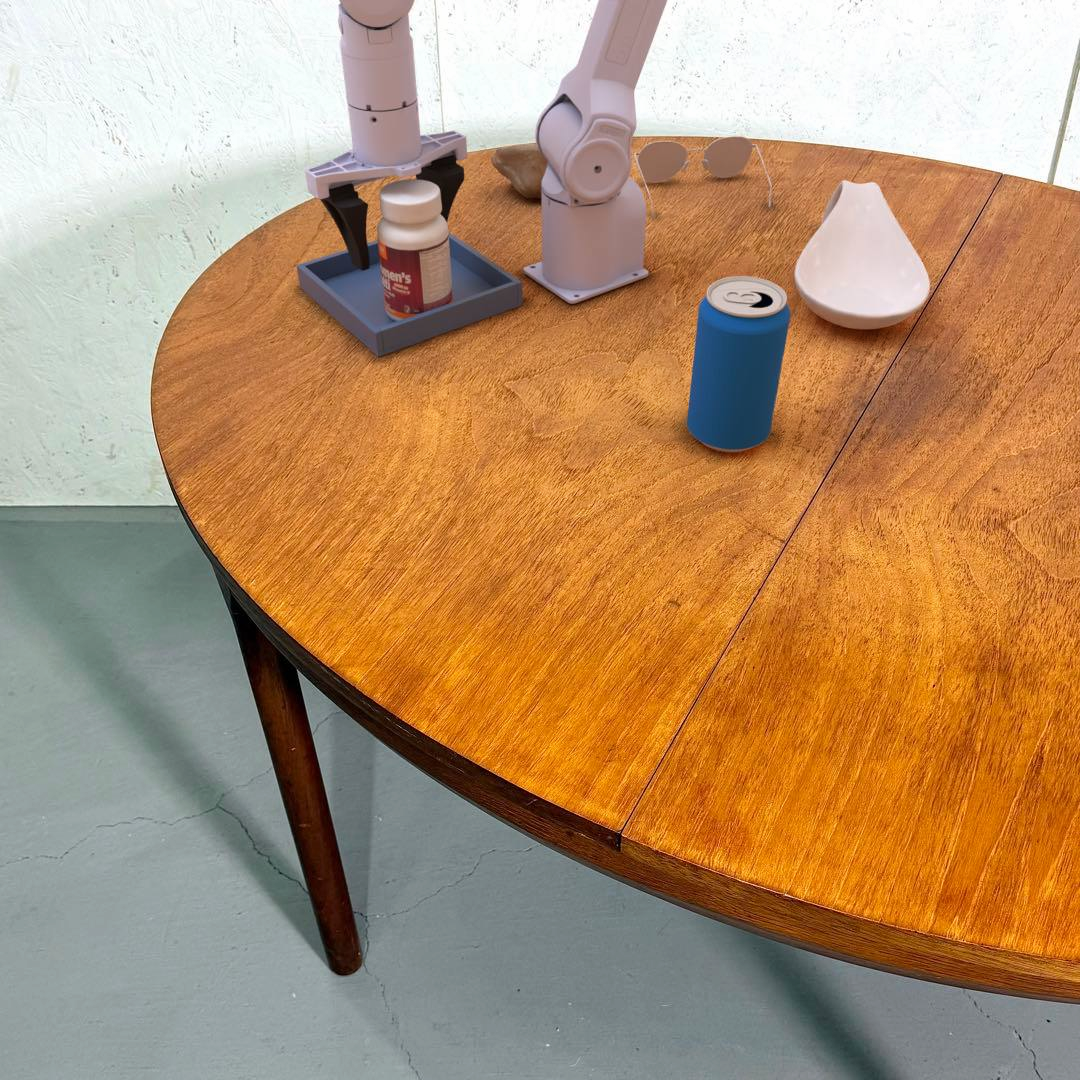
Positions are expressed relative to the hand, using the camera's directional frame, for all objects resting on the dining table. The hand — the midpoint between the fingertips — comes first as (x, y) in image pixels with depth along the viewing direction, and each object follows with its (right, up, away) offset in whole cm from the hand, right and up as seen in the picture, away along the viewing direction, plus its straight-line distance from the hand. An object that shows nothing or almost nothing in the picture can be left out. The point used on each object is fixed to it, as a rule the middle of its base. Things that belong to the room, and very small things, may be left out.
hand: (398, 253), depth 95 cm
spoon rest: (+42, -2, +5) cm, 43 cm away
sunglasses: (+30, +12, +20) cm, 38 cm away
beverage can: (+27, -18, -12) cm, 35 cm away
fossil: (+13, +12, +21) cm, 27 cm away
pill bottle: (+2, -5, +1) cm, 5 cm away
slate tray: (+1, -3, +4) cm, 5 cm away
